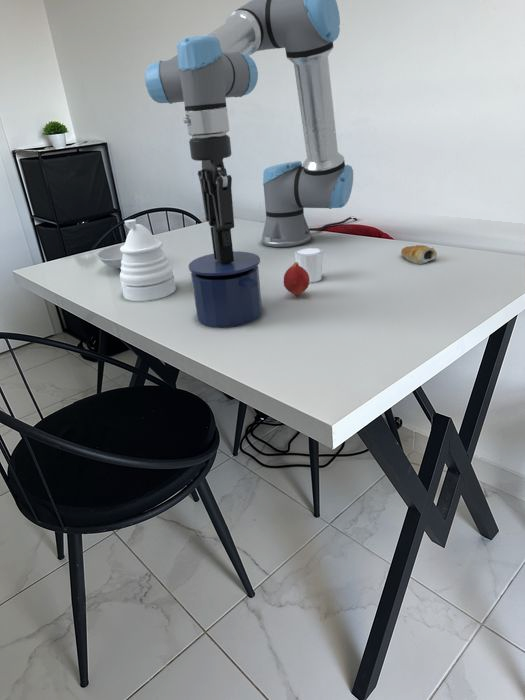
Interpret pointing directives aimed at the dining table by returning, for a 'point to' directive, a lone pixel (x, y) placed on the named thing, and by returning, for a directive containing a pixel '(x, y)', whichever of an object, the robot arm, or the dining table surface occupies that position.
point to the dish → (111, 256)
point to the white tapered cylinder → (311, 262)
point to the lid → (215, 268)
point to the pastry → (419, 254)
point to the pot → (227, 298)
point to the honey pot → (144, 266)
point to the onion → (296, 279)
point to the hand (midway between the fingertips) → (224, 259)
